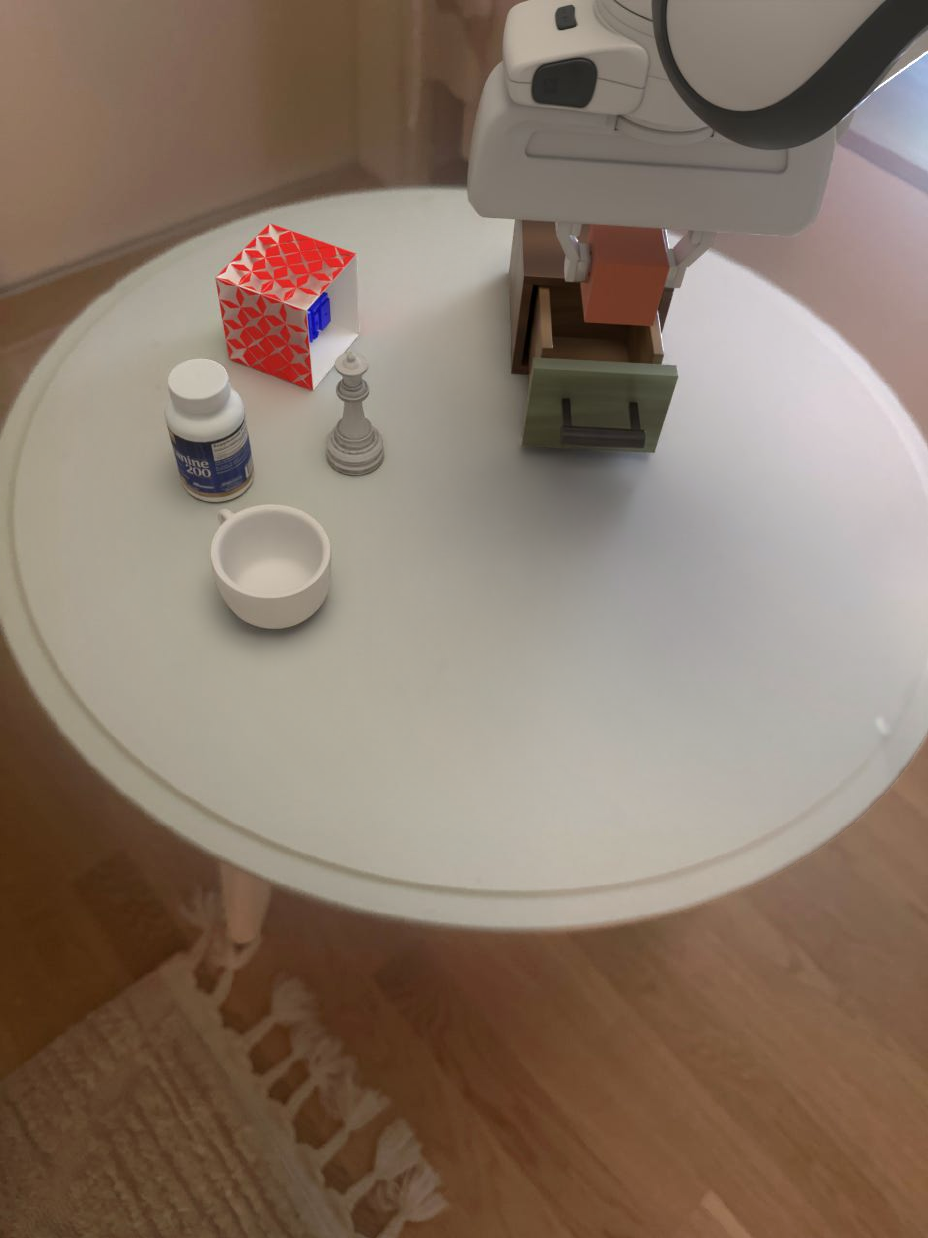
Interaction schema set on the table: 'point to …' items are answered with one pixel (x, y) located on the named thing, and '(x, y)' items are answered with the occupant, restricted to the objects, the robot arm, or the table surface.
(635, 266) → the block
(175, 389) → the pill bottle
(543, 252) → the cabinet
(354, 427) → the chess piece
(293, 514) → the teacup
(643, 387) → the drawer
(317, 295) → the red patterned box
